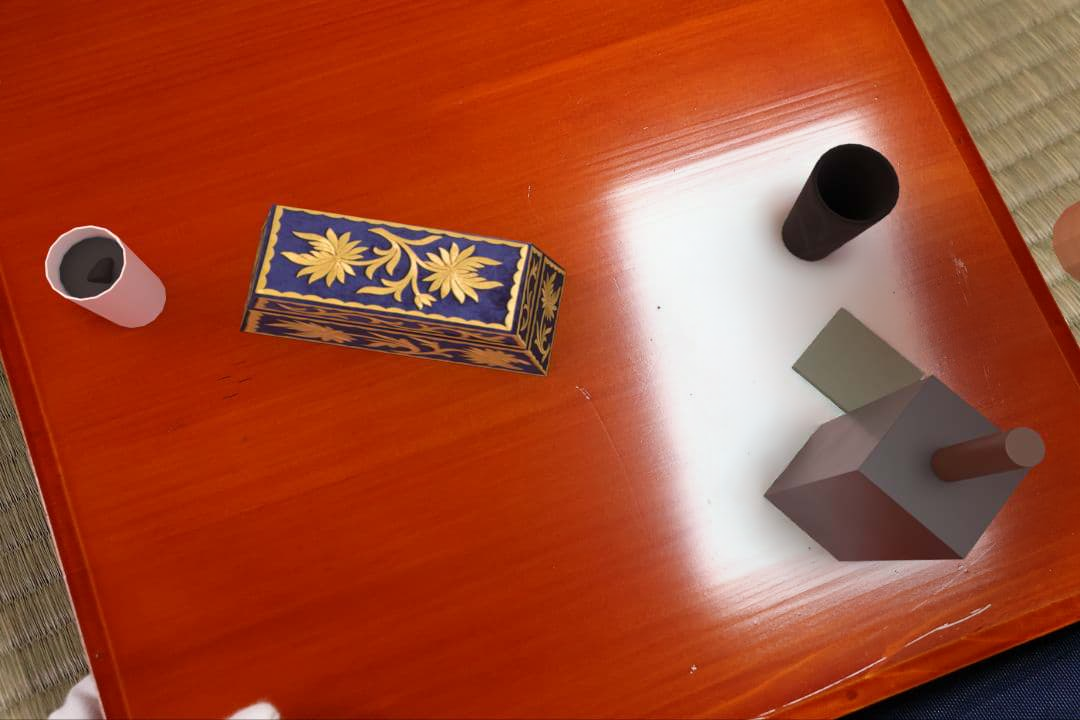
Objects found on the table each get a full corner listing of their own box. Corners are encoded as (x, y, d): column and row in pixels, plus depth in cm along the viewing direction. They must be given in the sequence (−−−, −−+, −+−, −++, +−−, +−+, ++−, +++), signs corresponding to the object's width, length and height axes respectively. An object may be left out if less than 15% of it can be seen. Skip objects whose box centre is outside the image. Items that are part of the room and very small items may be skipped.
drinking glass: (174, 266, 83) (131, 226, 73) (166, 333, 81) (121, 301, 72) (104, 264, 83) (50, 224, 73) (94, 331, 81) (39, 299, 71)
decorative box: (262, 226, 84) (234, 186, 76) (566, 271, 84) (573, 237, 76) (237, 331, 82) (205, 302, 73) (551, 377, 82) (557, 355, 73)
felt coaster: (922, 375, 84) (925, 373, 83) (874, 436, 82) (876, 435, 81) (840, 308, 85) (842, 306, 84) (791, 367, 83) (793, 366, 83)
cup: (760, 210, 87) (799, 155, 75) (829, 191, 88) (879, 133, 76) (787, 280, 85) (832, 234, 74) (858, 259, 86) (913, 211, 74)
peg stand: (896, 487, 81) (1130, 440, 51) (839, 561, 79) (1047, 558, 49) (820, 424, 82) (1005, 341, 52) (763, 495, 80) (919, 452, 50)
